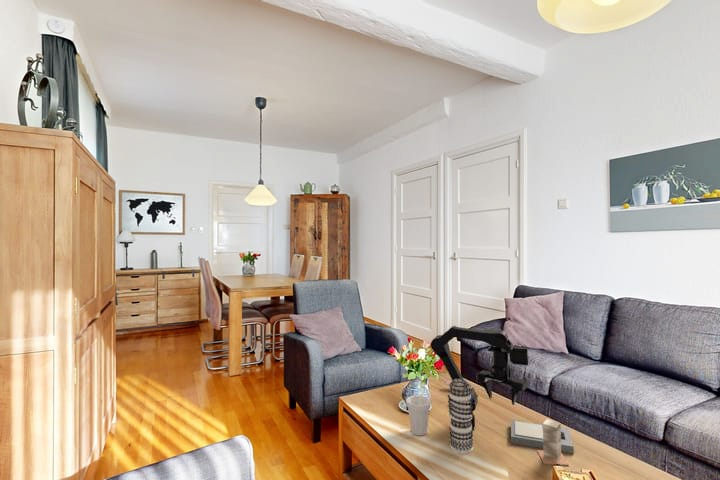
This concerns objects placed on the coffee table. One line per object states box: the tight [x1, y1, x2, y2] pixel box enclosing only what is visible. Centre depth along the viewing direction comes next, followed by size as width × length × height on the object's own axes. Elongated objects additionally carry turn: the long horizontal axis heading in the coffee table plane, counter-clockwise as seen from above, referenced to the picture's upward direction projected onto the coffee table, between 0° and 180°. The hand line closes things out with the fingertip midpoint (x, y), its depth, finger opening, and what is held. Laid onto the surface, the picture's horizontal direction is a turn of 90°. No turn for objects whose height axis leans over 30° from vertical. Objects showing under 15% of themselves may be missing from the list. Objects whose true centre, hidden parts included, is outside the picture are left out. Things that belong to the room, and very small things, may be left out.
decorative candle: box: [447, 378, 474, 455], centre depth 141 cm, size 9×9×25 cm
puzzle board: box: [510, 419, 575, 454], centre depth 145 cm, size 21×14×3 cm, turn 68°
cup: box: [405, 395, 432, 436], centre depth 152 cm, size 10×10×13 cm
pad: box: [536, 449, 570, 466], centre depth 132 cm, size 8×8×1 cm
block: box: [542, 418, 562, 462], centre depth 132 cm, size 4×4×12 cm
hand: (501, 401), depth 149 cm, fingers open, 9 cm apart
